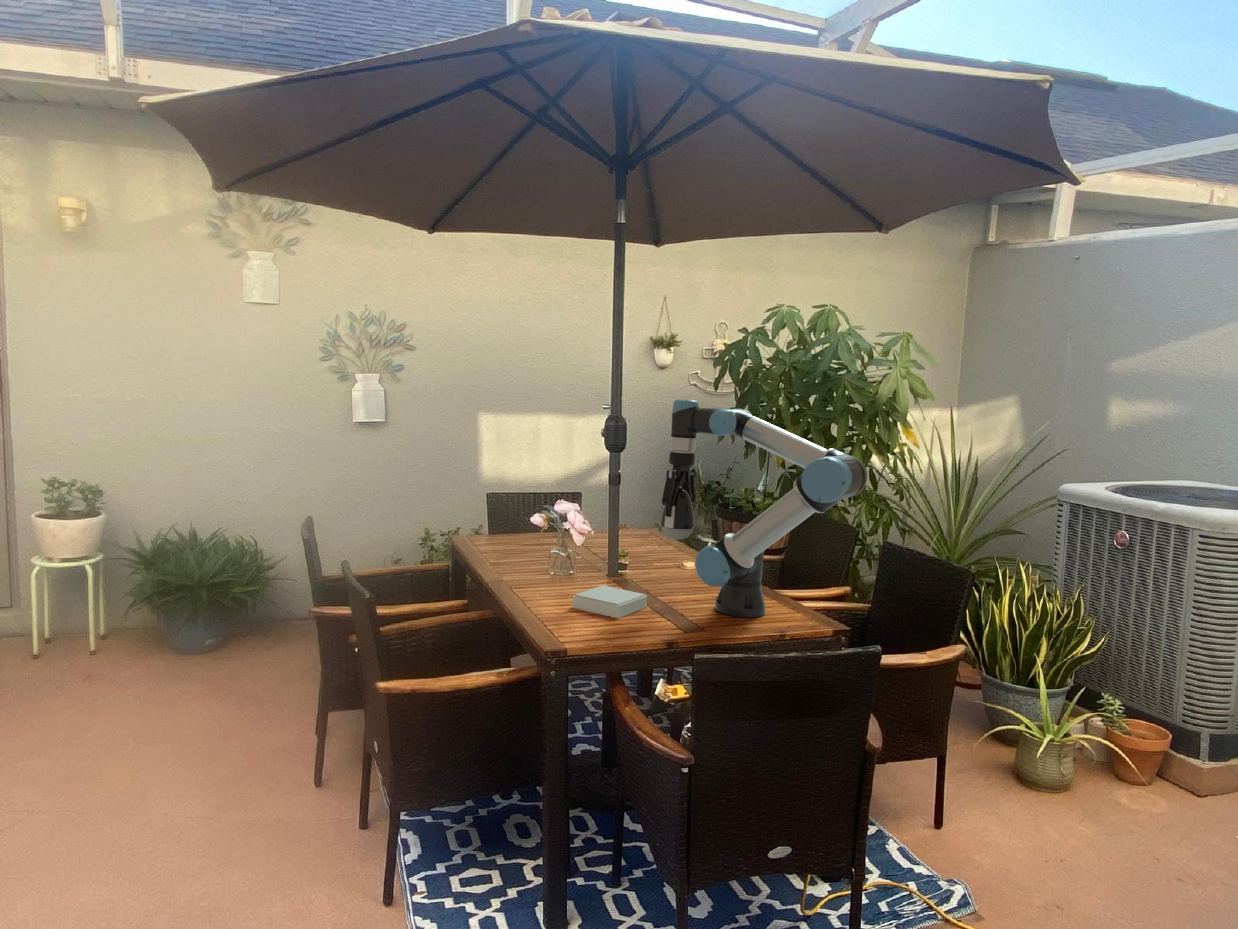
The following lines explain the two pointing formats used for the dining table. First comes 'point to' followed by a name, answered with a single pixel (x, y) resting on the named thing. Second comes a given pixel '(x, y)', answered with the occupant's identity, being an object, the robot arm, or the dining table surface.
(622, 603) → the plinth
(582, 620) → the dining table surface
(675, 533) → the black grey egg speaker
